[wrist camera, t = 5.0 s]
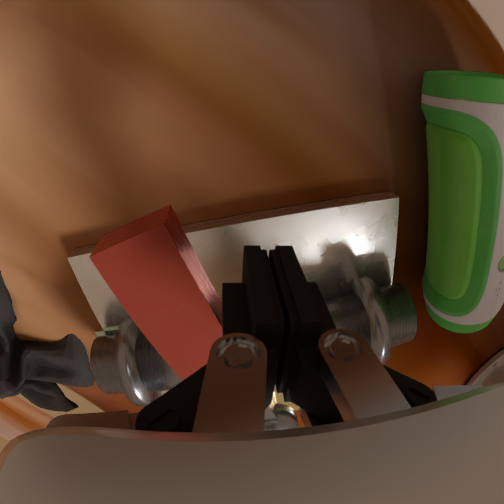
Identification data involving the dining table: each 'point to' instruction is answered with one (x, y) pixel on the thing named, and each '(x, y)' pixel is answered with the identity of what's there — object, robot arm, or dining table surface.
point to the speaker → (464, 198)
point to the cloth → (39, 363)
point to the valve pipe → (268, 236)
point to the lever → (169, 295)
